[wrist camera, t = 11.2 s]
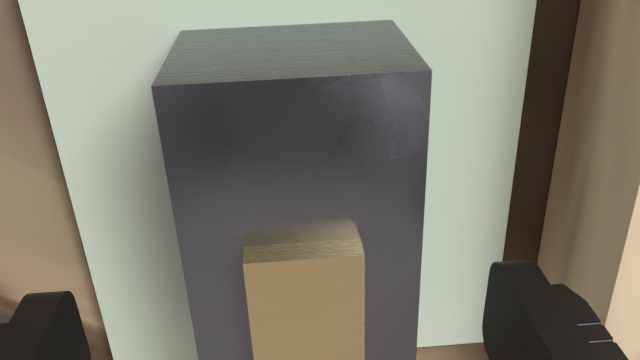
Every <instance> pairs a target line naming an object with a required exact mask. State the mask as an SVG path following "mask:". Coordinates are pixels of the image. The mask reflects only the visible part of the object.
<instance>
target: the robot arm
mask: <svg viewBox="0 0 640 360" xmlns="http://www.w3.org/2000/svg"><path fill="white" fill-rule="evenodd" d="M482 333H483V341H484V345H485V349H486V352H487V355H488V357H489V360H629V359H628V358H627V357H626V355H625V354H624V352H623V351H622V350H621V348H620V347H619V346H618V344H617V343H616V342H613V337H612V336H611V334H610V333H609V332H608V330H607V329H606V327H605V326H604V325H601V320H600V319H599V318H598V316H597V315H596V314H595V312H594V311H593V309H592V308H591V307H590V305H589V304H588V302H587V301H586V300H585V299H583V298H582V297H581V296H579V295H578V294H576V293H575V292H574V291H572V290H571V289H570V288H568V287H567V286H565V285H564V284H550V283H549V281H548V280H547V278H546V277H545V275H544V274H543V272H542V271H541V269H540V268H539V266H538V265H537V263H536V262H535V261H534V260H516V261H502V262H494V263H492V265H491V267H490V271H489V277H488V285H487V292H486V299H485V306H484V314H483V321H482ZM0 360H91V355H90V350H89V346H88V343H87V339H86V336H85V332H84V329H83V325H82V322H81V318H80V315H79V311H78V308H77V304H76V301H75V298H74V296H73V294H72V293H71V292H70V291H59V292H45V293H31V294H27V295H25V296H24V297H23V299H22V300H21V302H20V304H19V306H18V307H17V309H16V311H15V313H14V315H13V317H12V318H11V320H10V322H9V323H0Z"/></svg>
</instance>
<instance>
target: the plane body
mask: <svg viewBox="0 0 640 360" xmlns="http://www.w3.org/2000/svg"><path fill="white" fill-rule="evenodd" d="M537 265H538V266H539V268H540V269H541V271H542V272H543V274H544V275H545V277H546V278H547V280H548V281H549V283H550V284H564V285H565V286H567V287H568V288H570V289H571V290H572V291H574V292H575V293H576V294H578V295H579V296H581V297H582V298H583V299H585V300H586V301H587V302H588V304H589V305H590V307H591V308H592V309H593V311H594V312H595V314H596V315H597V316H598V318H599V319H600V320H601V325H604V326H605V327H606V329H607V330H608V332H609V333H610V334H611V336H612V337H613V342H616V343H617V344H618V346H619V347H620V348H621V350H622V351H623V352H624V354H625V355H626V357H627V358H628V359H629V360H640V0H581V3H580V9H579V15H578V21H577V27H576V33H575V39H574V45H573V51H572V57H571V63H570V69H569V75H568V81H567V87H566V93H565V99H564V105H563V111H562V117H561V123H560V129H559V135H558V141H557V147H556V153H555V159H554V165H553V171H552V177H551V183H550V189H549V195H548V201H547V207H546V213H545V219H544V225H543V231H542V237H541V243H540V249H539V255H538V262H537Z"/></svg>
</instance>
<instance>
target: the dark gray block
mask: <svg viewBox="0 0 640 360" xmlns="http://www.w3.org/2000/svg"><path fill="white" fill-rule="evenodd" d="M431 85H432V70H431V68H430V67H429V66H428V64H427V63H426V62H425V61H424V59H423V58H422V57H421V56H420V54H419V53H418V52H417V50H416V49H415V48H414V47H413V45H412V44H411V43H410V42H409V40H408V39H407V38H406V37H405V35H404V34H403V33H402V31H401V30H400V29H399V28H398V26H397V25H396V24H395V23H394V21H393V20H376V21H356V22H337V23H317V24H298V25H278V26H259V27H239V28H220V29H200V30H181V32H180V33H179V35H178V37H177V39H176V41H175V43H174V45H173V46H172V48H171V50H170V52H169V54H168V56H167V57H166V59H165V61H164V63H163V65H162V67H161V69H160V70H159V72H158V74H157V76H156V78H155V80H154V82H153V83H152V85H151V89H152V95H153V101H154V107H155V112H156V118H157V124H158V130H159V135H160V141H161V147H162V153H163V158H164V164H165V170H166V176H167V181H168V187H169V193H170V199H171V204H172V210H173V216H174V222H175V227H176V233H177V239H178V245H179V250H180V256H181V262H182V267H183V273H184V279H185V285H186V290H187V296H188V302H189V308H190V313H191V319H192V325H193V331H194V336H195V342H196V348H197V354H198V359H199V360H416V351H417V333H418V316H419V298H420V280H421V262H422V245H423V227H424V209H425V191H426V174H427V156H428V138H429V120H430V102H431Z"/></svg>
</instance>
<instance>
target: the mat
mask: <svg viewBox="0 0 640 360" xmlns="http://www.w3.org/2000/svg"><path fill="white" fill-rule="evenodd" d="M18 2H19V6H20V10H21V13H22V17H23V21H24V25H25V28H26V32H27V36H28V40H29V44H30V47H31V51H32V55H33V59H34V62H35V66H36V70H37V74H38V77H39V81H40V85H41V89H42V92H43V96H44V100H45V104H46V108H47V111H48V115H49V119H50V123H51V126H52V130H53V134H54V138H55V141H56V145H57V149H58V153H59V156H60V160H61V164H62V168H63V171H64V175H65V179H66V183H67V187H68V190H69V194H70V198H71V202H72V205H73V209H74V213H75V217H76V220H77V224H78V228H79V232H80V235H81V239H82V243H83V247H84V250H85V254H86V258H87V262H88V266H89V269H90V273H91V277H92V281H93V284H94V288H95V292H96V296H97V299H98V303H99V307H100V311H101V314H102V318H103V322H104V326H105V329H106V333H107V337H108V341H109V345H110V348H111V352H112V356H113V360H199V359H198V354H197V348H196V342H195V336H194V331H193V325H192V319H191V313H190V308H189V302H188V296H187V290H186V285H185V279H184V273H183V267H182V262H181V256H180V250H179V245H178V239H177V233H176V227H175V222H174V216H173V210H172V204H171V199H170V193H169V187H168V181H167V176H166V170H165V164H164V158H163V153H162V147H161V141H160V135H159V130H158V124H157V118H156V112H155V107H154V101H153V95H152V89H151V85H152V83H153V82H154V80H155V78H156V76H157V74H158V72H159V70H160V69H161V67H162V65H163V63H164V61H165V59H166V57H167V56H168V54H169V52H170V50H171V48H172V46H173V45H174V43H175V41H176V39H177V37H178V35H179V33H180V32H181V30H200V29H220V28H239V27H259V26H278V25H298V24H317V23H337V22H356V21H376V20H393V21H394V23H395V24H396V25H397V26H398V28H399V29H400V30H401V31H402V33H403V34H404V35H405V37H406V38H407V39H408V40H409V42H410V43H411V44H412V45H413V47H414V48H415V49H416V50H417V52H418V53H419V54H420V56H421V57H422V58H423V59H424V61H425V62H426V63H427V64H428V66H429V67H430V68H431V70H432V85H431V102H430V120H429V138H428V156H427V174H426V191H425V209H424V227H423V245H422V262H421V280H420V298H419V316H418V333H417V347H428V346H440V345H453V344H465V343H478V342H484V341H483V333H482V321H483V314H484V306H485V299H486V292H487V285H488V277H489V271H490V267H491V265H492V263H494V262H502V259H503V251H504V244H505V236H506V229H507V221H508V214H509V206H510V199H511V191H512V183H513V176H514V168H515V161H516V153H517V146H518V138H519V131H520V123H521V115H522V108H523V100H524V93H525V85H526V78H527V70H528V63H529V55H530V47H531V40H532V32H533V25H534V17H535V10H536V2H537V0H18Z"/></svg>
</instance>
